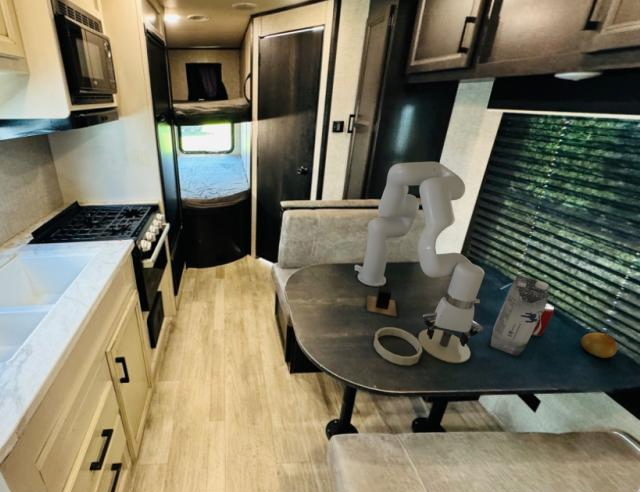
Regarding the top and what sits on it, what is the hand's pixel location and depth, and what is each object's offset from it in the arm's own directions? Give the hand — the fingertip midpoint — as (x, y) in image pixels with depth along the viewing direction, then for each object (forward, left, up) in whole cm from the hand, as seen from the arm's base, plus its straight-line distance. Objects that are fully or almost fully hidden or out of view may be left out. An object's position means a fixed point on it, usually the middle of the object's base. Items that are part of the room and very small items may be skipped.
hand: (445, 340), depth 108 cm
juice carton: (+15, +16, -3) cm, 22 cm away
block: (-25, +7, -3) cm, 26 cm away
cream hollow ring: (-11, -13, -3) cm, 17 cm away
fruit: (+37, +34, -3) cm, 50 cm away
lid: (0, 0, -3) cm, 3 cm away
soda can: (+21, +32, -3) cm, 38 cm away
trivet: (-25, +7, -3) cm, 26 cm away
